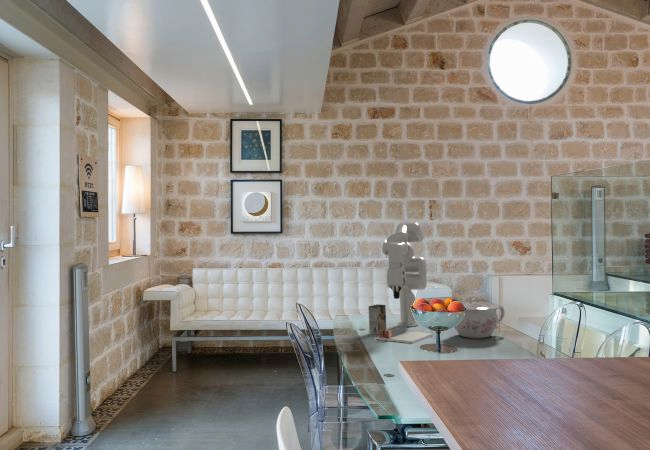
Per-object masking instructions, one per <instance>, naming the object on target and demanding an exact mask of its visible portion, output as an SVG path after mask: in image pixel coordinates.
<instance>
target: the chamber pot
mask: <svg viewBox="0 0 650 450" xmlns="http://www.w3.org/2000/svg"><path fill="white" fill-rule="evenodd" d="M459 303H462V304H463V305H464V307H465V308H466V311H465V312H464V313H465V316H464V318H463V320H462V321H461V322H460V323H459V324H458V325H457V326H455V327H454V326H453V327H454V329H455V331H456V333H457V335H459V336H461V337H463V338H467V339H477V340H479V339H486V338H489V337H491V336H492V335H493V334H494V332H495V331H496V329H497V327H498V324H499V323H500V322H502V320H503V318H504V317H505V312H506V311H505V308H504V307H503V306H502V305H500V304H496V303H492V302H486V301H480V300H479V299H477V298H472V299H470V301H461V302H459ZM497 310H500V316H499V315H498V313H497ZM498 316H499V317H498Z"/></svg>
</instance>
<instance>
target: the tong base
mask: <svg viewBox="0 0 650 450" xmlns="http://www.w3.org/2000/svg"><path fill="white" fill-rule="evenodd" d="M399 326H400V325H394V326H391V327H386V329H380V330H379V335H378V337H382V338H384V337H385V331H384V330H391V329H394V328H397V327H399ZM403 326H405V332H407V331H408V329H407V328H408V326H407V323H406V322H403Z"/></svg>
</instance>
